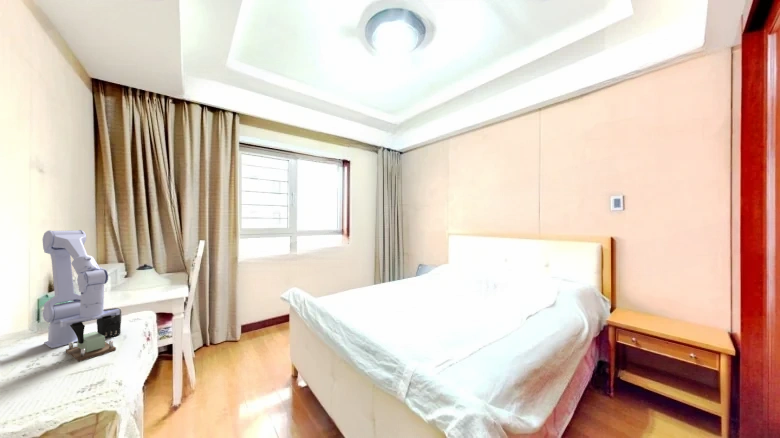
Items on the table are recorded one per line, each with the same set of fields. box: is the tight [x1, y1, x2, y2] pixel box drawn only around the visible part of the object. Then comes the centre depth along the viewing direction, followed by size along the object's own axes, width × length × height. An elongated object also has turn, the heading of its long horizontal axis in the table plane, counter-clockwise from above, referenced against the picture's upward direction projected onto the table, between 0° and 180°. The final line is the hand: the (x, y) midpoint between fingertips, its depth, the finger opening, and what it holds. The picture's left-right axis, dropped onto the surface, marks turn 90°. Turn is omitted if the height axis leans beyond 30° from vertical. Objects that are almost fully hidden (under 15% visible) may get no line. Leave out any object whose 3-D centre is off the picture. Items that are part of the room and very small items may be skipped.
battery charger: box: [96, 307, 123, 339], centre depth 109 cm, size 7×4×11 cm, turn 130°
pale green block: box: [76, 331, 106, 352], centre depth 97 cm, size 9×4×4 cm, turn 64°
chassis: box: [65, 340, 117, 362], centre depth 97 cm, size 14×9×4 cm, turn 64°
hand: (91, 340), depth 97 cm, fingers closed on pale green block, 4 cm apart
